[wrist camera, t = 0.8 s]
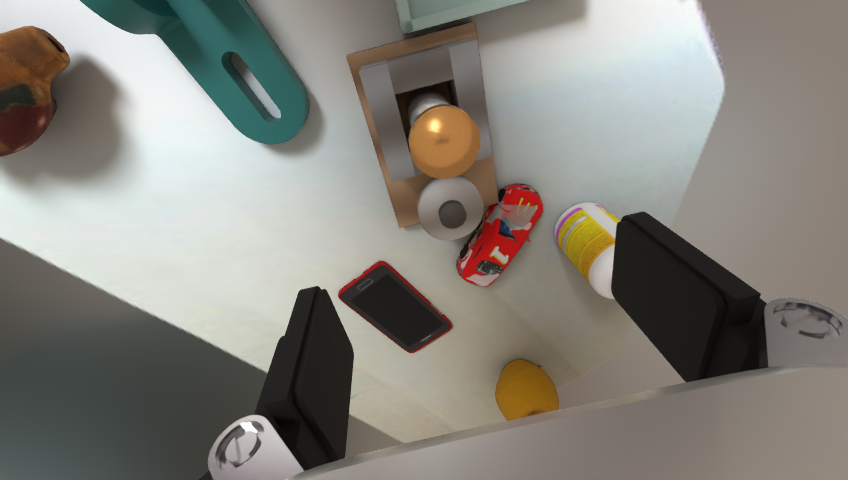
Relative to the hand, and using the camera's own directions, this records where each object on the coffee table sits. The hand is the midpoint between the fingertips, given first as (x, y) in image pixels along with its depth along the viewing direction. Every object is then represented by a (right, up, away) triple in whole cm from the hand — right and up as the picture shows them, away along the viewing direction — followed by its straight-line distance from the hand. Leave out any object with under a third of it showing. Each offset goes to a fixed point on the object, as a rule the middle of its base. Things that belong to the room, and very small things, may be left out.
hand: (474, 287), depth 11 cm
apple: (+12, -18, +44) cm, 49 cm away
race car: (+7, +3, +31) cm, 32 cm away
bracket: (-18, +18, +18) cm, 32 cm away
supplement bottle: (+17, +3, +31) cm, 36 cm away
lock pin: (-2, +14, +21) cm, 25 cm away
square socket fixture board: (-1, +12, +24) cm, 27 cm away
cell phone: (-5, -7, +36) cm, 37 cm away
